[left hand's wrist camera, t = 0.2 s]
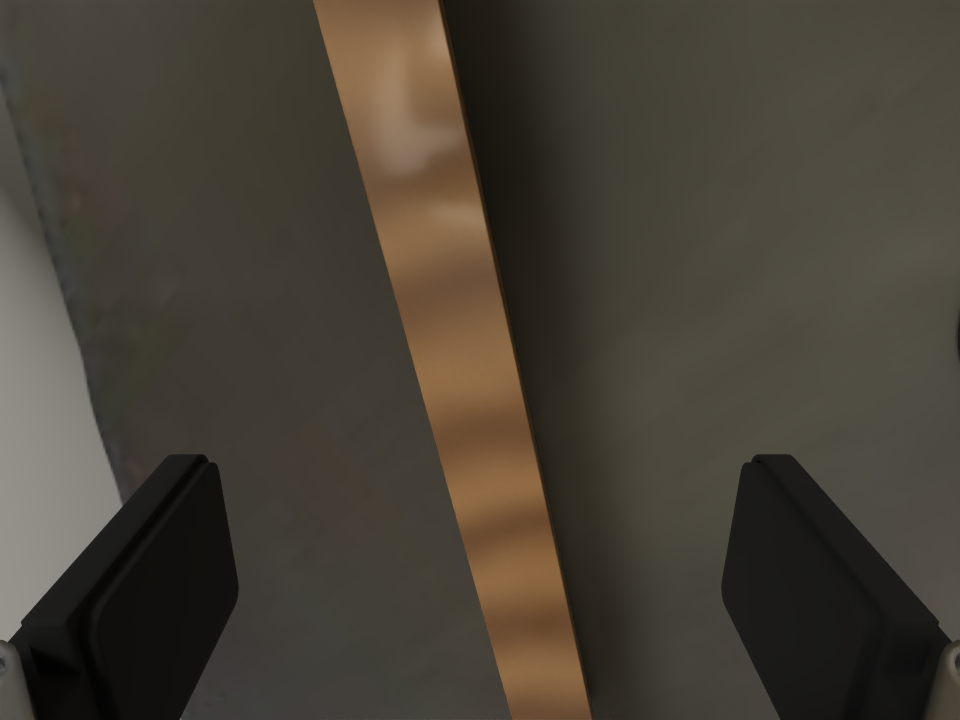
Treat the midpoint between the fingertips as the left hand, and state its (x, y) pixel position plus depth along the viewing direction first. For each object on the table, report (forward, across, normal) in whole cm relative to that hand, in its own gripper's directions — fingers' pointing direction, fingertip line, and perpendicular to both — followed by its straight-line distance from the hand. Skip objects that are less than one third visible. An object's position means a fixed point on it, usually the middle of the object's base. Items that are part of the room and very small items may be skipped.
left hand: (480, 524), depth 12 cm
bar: (+31, 0, +10) cm, 32 cm away
